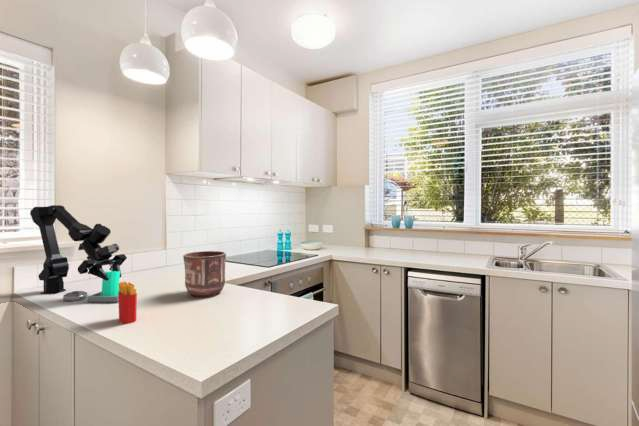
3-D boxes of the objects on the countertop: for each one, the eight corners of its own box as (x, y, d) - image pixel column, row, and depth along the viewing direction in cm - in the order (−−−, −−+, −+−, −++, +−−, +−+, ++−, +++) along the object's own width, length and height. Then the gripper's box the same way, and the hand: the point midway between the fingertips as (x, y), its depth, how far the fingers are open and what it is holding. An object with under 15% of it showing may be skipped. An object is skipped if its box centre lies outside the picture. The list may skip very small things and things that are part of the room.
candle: (118, 297, 133) (120, 268, 134) (101, 298, 130) (103, 268, 131) (118, 295, 138) (120, 266, 139) (101, 296, 135) (103, 267, 136)
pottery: (199, 287, 154) (198, 250, 153) (232, 289, 150) (232, 251, 150) (175, 298, 137) (174, 256, 136) (212, 300, 133) (212, 257, 132)
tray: (87, 302, 129) (87, 296, 129) (108, 294, 141) (107, 288, 141) (117, 303, 129) (117, 296, 129) (134, 294, 141) (134, 289, 141)
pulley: (58, 301, 130) (58, 294, 130) (73, 296, 138) (73, 289, 138) (77, 301, 130) (77, 294, 130) (91, 296, 138) (91, 289, 138)
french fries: (139, 321, 108) (138, 283, 108) (124, 325, 105) (124, 285, 105) (129, 315, 114) (129, 279, 114) (116, 318, 111) (115, 281, 111)
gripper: (82, 240, 126) (104, 270, 124) (123, 236, 144) (143, 262, 142) (68, 258, 129) (89, 288, 126) (110, 252, 147) (129, 278, 144)
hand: (114, 278), depth 134 cm, fingers closed on candle, 6 cm apart
